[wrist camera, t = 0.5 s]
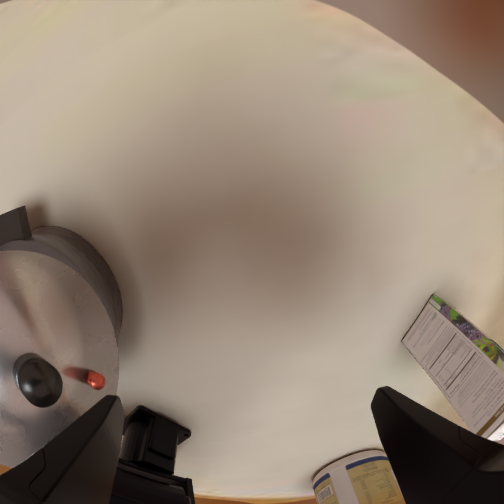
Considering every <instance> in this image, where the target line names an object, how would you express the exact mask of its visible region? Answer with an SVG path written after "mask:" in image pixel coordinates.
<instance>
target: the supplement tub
mask: <svg viewBox="0 0 504 504" xmlns="http://www.w3.org/2000/svg"><path fill="white" fill-rule="evenodd" d="M313 489H314V493H315V496H316V500H317V504H406V503H405V501H404V498H403V495H402V493H401V490H400V488H399V485H398V482H397V480H396V477H395V475H394V472H393V470H392V467H391V465H390V462H389V460H388V458H387V455H386V453H384V452H382V451H378V450H369V451H363V452H359V453H356V454H353V455H350V456H347V457H345V458H342V459H340V460H338V461H336V462H334V463H332V464H330V465H328V466H327V467H325V468H324V469H322V470H321V471H320V472H319V473H318V474H317V475H316V477H315V478H314V480H313Z"/></svg>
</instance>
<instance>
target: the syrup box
mask: <svg viewBox="0 0 504 504" xmlns="http://www.w3.org/2000/svg"><path fill="white" fill-rule="evenodd" d="M402 343H403V344H404V345H405V346H406V348H407V349H408V350H409V351H410V353H411V354H412V355H413V356H414V358H415V359H416V360H417V361H418V362H419V364H420V365H421V366H422V368H423V369H424V370H425V371H426V373H427V374H428V375H429V376H430V377H431V379H432V380H433V381H434V383H435V384H436V385H437V386H438V388H439V389H440V390H441V391H442V393H443V394H444V395H445V397H446V398H447V399H448V401H449V402H450V403H451V405H452V406H453V408H454V409H455V410H456V411H457V413H458V414H459V416H460V417H461V418H462V420H463V421H464V422H465V424H466V425H467V427H468V428H469V429H470V431H471V432H472V433H474V434H477V435H479V436H481V437H484V438H486V439H489V440H491V441H497V440H501V439H502V438H503V437H504V350H503V349H502V348H501V347H500V346H499V345H498V344H497V343H496V342H494V341H493V340H492V339H491V338H490V337H489V336H487V335H486V334H485V333H484V332H483V331H482V330H480V329H479V328H478V327H477V326H476V325H474V324H473V323H472V322H471V321H470V320H468V319H467V318H466V317H465V316H464V315H462V314H461V313H460V312H459V311H457V310H456V309H455V308H453V307H452V306H451V305H449V304H448V303H446V302H445V301H444V300H442V299H441V298H439V297H438V296H436V295H432V297H431V298H430V300H429V301H428V303H427V305H426V306H425V308H424V309H423V311H422V312H421V314H420V315H419V317H418V318H417V320H416V321H415V323H414V324H413V326H412V327H411V329H410V330H409V332H408V333H407V335H406V336H405V337H404V339H403V340H402Z"/></svg>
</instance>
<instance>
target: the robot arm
mask: <svg viewBox="0 0 504 504" xmlns="http://www.w3.org/2000/svg"><path fill="white" fill-rule="evenodd" d="M371 410H372V413H373V416H374V420H375V423H376V427H377V430H378V434H379V437H380V440H381V443H382V445H383V448H384V450H385V453H386V455H387V458H388V460H389V462H390V465H391V467H392V470H393V472H394V475H395V477H396V480H397V482H398V485H399V488H400V490H401V493H402V495H403V498H404V501H405V503H406V504H504V445H502V444H499V443H497V442H494V441H491V440H489V439H486V438H484V437H481V436H479V435H477V434H474V433H472V432H470V431H468V430H466V429H464V428H462V427H460V426H457V424H455V423H453V422H451V421H449V420H447V419H446V418H444V417H442V416H440V415H438V414H436V413H435V412H433V411H431V410H429V409H427V408H426V407H424V406H422V405H420V404H419V403H417V402H415V401H413V400H411V399H410V398H408V397H406V396H405V395H403V394H401V393H399V392H398V391H396V390H394V389H392V388H391V387H389V386H384V387H380V388H378V389H377V390H376V393H375V395H374V398H373V400H372V403H371ZM124 417H125V414H124V410H123V407H122V404H121V401H120V398H119V397H118V396H116V395H109V394H108V395H106V396H104V397H103V398H102V399H101V400H99V401H98V402H97V403H96V404H95V405H93V406H92V407H91V408H90V409H89V410H87V411H86V412H85V413H84V414H83V415H81V416H80V417H79V418H78V419H76V420H75V421H74V422H73V423H72V424H70V425H69V426H68V427H67V428H65V429H64V430H63V431H62V432H60V433H59V434H58V435H57V436H56V437H54V438H53V439H52V440H51V441H49V442H48V443H47V444H46V445H44V446H43V448H41V449H39V450H38V451H37V452H36V453H34V454H33V455H32V456H30V457H29V458H28V459H26V460H25V461H23V462H22V463H20V464H18V465H17V466H15V467H14V468H12V469H10V470H9V471H7V472H5V473H3V474H2V475H0V504H195V500H194V493H193V486H192V479H190V478H182V477H178V476H175V475H174V467H175V457H176V451H177V445H179V444H180V443H182V442H183V441H185V440H186V439H188V438H189V437H190V436H191V432H190V431H189V430H187V429H185V428H183V427H181V426H179V425H177V424H174V423H172V422H170V421H169V420H167V419H165V418H163V417H161V416H159V415H157V414H155V413H153V412H151V411H150V410H148V409H146V408H144V407H142V406H138V407H137V408H136V409H135V410H134V411H133V412H132V413H131V414H130V415H129V416H128V417H127V418H126V419H124ZM122 435H124V438H123V441H122V445H121V440H122Z"/></svg>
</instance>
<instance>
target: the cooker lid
mask: <svg viewBox="0 0 504 504" xmlns="http://www.w3.org/2000/svg"><path fill="white" fill-rule="evenodd" d="M118 376H119V356H118V348H117V341H116V337H115V333H114V329H113V326H112V323H111V320H110V318H109V316H108V313H107V311H106V309H105V307H104V305H103V304H102V302H101V300H100V298H99V297H98V295H97V294H96V293H95V291H94V290H93V289H92V287H91V286H90V285H89V284H88V283H87V282H86V281H85V280H84V279H83V278H82V277H81V276H80V275H79V274H78V273H77V272H75V271H74V270H73V269H72V268H70V267H69V266H67V265H65V264H64V263H62V262H61V261H58V260H56V259H54V258H52V257H50V256H47V255H43V254H40V253H36V252H30V251H22V250H14V251H1V252H0V464H1V465H4V466H8V467H11V468H14V467H15V466H17V465H18V464H20V463H22V462H23V461H25V460H26V459H28V458H29V457H30V456H32V455H33V454H34V453H36V452H37V451H38V450H39V449H41V448H43V446H44V445H46V444H47V443H48V442H49V441H51V440H52V439H53V438H54V437H56V436H57V435H58V434H59V433H60V432H62V431H63V430H64V429H65V428H67V427H68V426H69V425H70V424H72V423H73V422H74V421H75V420H76V419H78V418H79V417H80V416H81V415H83V414H84V413H85V412H86V411H87V410H89V409H90V408H91V407H92V406H93V405H95V404H96V403H97V402H98V401H99V400H101V399H102V398H103V397H104V396H106V395H108V394H109V395H116V391H117V385H118Z"/></svg>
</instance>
